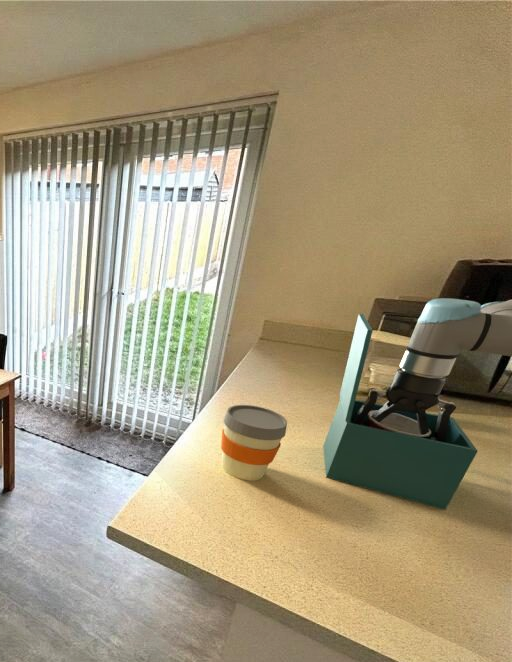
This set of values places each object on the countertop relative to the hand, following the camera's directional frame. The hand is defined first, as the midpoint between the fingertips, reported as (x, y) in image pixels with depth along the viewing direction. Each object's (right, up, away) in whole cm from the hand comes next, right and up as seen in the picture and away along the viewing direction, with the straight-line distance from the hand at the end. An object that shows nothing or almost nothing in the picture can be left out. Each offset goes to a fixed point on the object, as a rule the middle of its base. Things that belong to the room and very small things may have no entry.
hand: (382, 460), depth 93 cm
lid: (-9, +22, -3) cm, 24 cm away
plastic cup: (0, -1, +1) cm, 1 cm away
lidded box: (0, -4, +2) cm, 4 cm away
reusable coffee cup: (-31, -3, +4) cm, 31 cm away
